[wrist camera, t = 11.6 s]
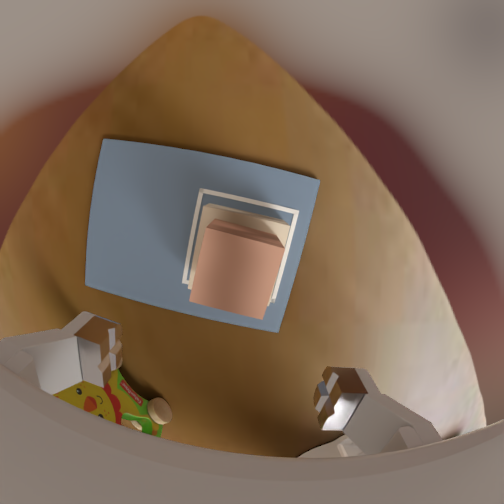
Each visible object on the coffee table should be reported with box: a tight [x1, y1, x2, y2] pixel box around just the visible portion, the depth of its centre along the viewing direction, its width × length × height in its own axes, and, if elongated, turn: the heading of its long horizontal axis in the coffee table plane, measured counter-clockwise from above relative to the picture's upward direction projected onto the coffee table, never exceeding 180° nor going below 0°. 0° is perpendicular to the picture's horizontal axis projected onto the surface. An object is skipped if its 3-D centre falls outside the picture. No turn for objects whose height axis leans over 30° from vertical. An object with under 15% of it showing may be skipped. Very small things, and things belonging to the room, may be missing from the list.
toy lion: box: [53, 358, 172, 437], centre depth 23 cm, size 16×5×15 cm, turn 32°
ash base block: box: [188, 203, 290, 306], centre depth 24 cm, size 7×7×4 cm
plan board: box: [85, 139, 320, 333], centre depth 26 cm, size 22×16×1 cm
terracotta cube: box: [189, 219, 285, 320], centre depth 20 cm, size 5×5×5 cm
